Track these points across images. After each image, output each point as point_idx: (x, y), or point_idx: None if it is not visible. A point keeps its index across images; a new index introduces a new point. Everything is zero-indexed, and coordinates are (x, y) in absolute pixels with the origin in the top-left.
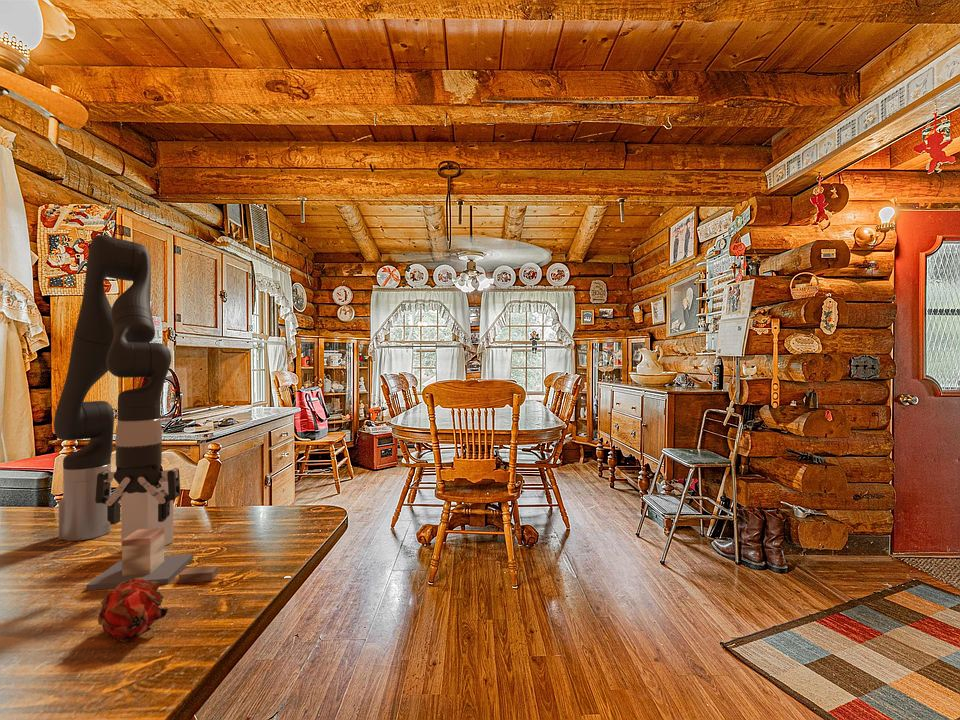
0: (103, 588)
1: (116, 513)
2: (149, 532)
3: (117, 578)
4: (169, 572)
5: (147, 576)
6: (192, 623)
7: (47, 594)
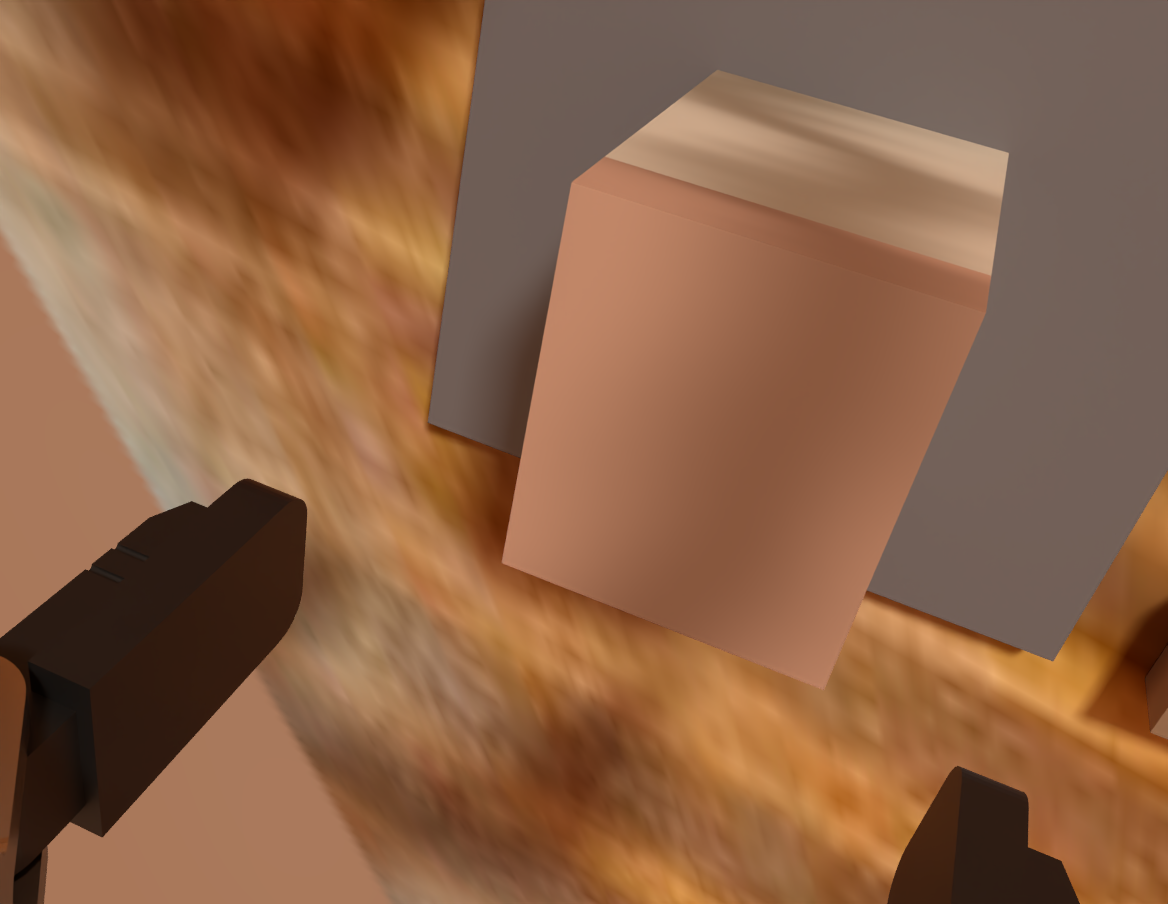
0: None
1: (202, 668)
2: (777, 436)
3: None
4: (1066, 535)
5: None
6: None
7: (219, 325)
